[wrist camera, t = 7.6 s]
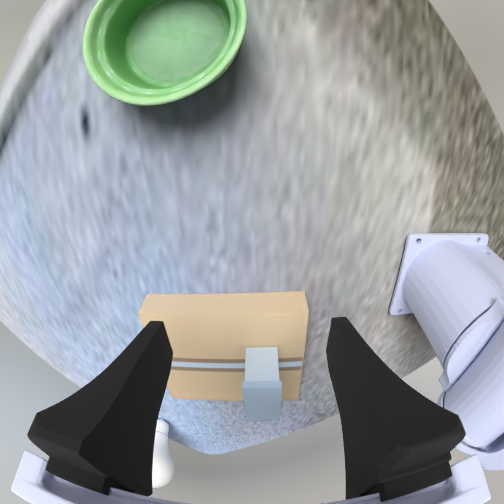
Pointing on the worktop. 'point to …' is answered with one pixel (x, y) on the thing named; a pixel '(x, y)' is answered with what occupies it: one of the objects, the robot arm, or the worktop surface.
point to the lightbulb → (161, 456)
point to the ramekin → (161, 46)
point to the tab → (262, 384)
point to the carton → (229, 339)
